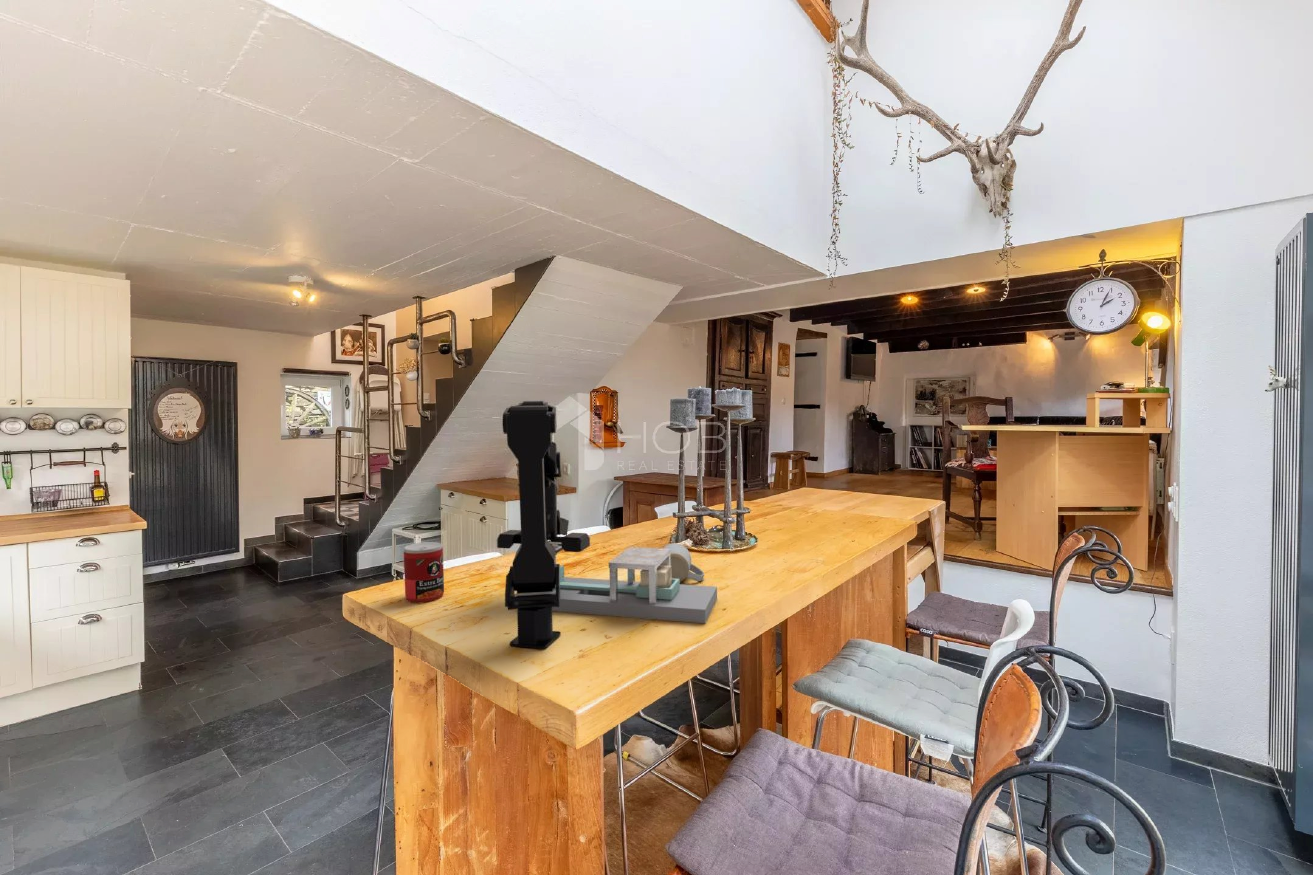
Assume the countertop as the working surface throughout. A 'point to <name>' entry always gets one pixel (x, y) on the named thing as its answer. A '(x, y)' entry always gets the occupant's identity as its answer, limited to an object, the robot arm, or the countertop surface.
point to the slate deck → (636, 602)
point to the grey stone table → (641, 561)
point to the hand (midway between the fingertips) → (544, 581)
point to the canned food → (423, 571)
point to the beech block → (658, 577)
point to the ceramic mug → (682, 563)
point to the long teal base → (624, 588)
